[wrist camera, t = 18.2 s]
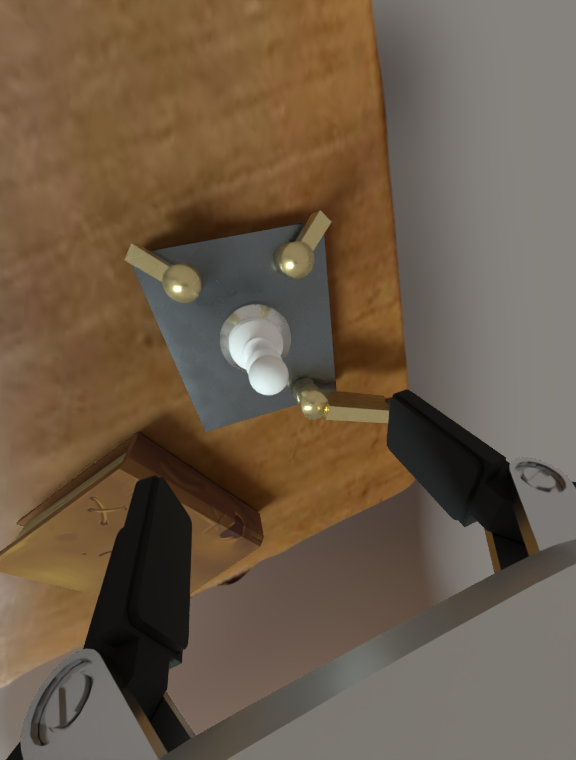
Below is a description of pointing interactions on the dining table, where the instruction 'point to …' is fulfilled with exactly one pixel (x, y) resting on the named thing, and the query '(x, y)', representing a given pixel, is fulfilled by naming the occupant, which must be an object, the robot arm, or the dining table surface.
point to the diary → (108, 515)
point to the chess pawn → (259, 354)
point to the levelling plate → (242, 312)
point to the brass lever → (340, 404)
